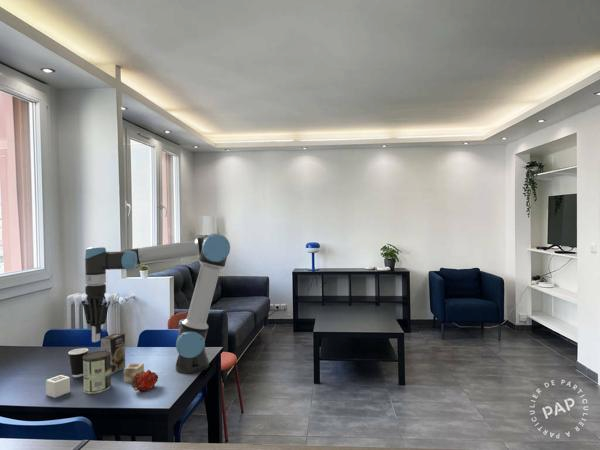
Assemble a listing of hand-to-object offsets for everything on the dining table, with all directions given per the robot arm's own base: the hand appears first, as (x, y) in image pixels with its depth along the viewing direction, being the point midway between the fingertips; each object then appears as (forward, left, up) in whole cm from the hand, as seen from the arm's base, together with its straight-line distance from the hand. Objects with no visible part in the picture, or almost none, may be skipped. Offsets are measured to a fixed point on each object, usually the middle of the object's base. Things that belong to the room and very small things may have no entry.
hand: (96, 341), depth 158 cm
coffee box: (+9, -18, -20) cm, 28 cm away
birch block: (-8, -12, -20) cm, 25 cm away
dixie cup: (+20, -9, -20) cm, 29 cm away
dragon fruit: (-20, -5, -20) cm, 29 cm away
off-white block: (+12, +8, -20) cm, 24 cm away
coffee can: (0, 0, -20) cm, 20 cm away
